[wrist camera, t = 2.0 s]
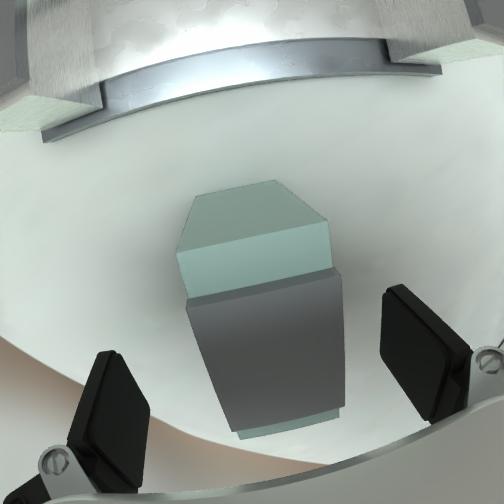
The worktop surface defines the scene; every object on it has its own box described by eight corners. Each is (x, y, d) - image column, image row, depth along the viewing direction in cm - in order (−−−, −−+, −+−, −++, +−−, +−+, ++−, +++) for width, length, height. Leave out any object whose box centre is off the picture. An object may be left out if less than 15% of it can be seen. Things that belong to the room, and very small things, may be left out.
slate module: (276, 179, 17) (336, 226, 9) (297, 315, 21) (344, 426, 12) (194, 196, 17) (170, 261, 8) (229, 330, 21) (239, 450, 12)
